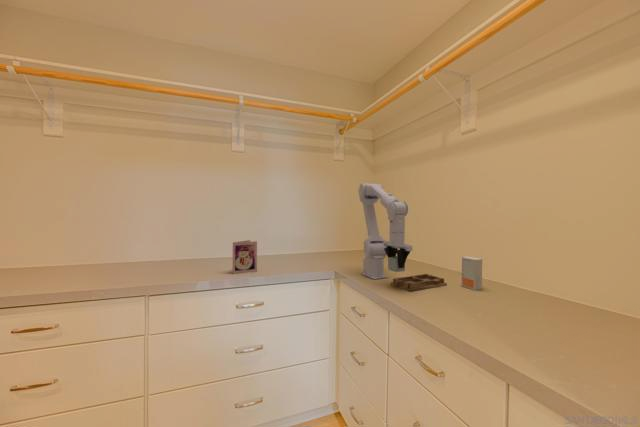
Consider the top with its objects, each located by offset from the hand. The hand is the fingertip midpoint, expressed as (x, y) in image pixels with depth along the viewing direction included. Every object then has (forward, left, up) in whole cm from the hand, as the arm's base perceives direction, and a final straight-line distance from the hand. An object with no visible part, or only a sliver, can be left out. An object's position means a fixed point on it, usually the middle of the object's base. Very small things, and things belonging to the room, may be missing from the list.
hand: (396, 266), depth 103 cm
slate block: (0, 0, -2) cm, 2 cm away
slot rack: (+1, +11, -8) cm, 14 cm away
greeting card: (-52, -50, -9) cm, 73 cm away
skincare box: (+13, +27, -9) cm, 31 cm away
